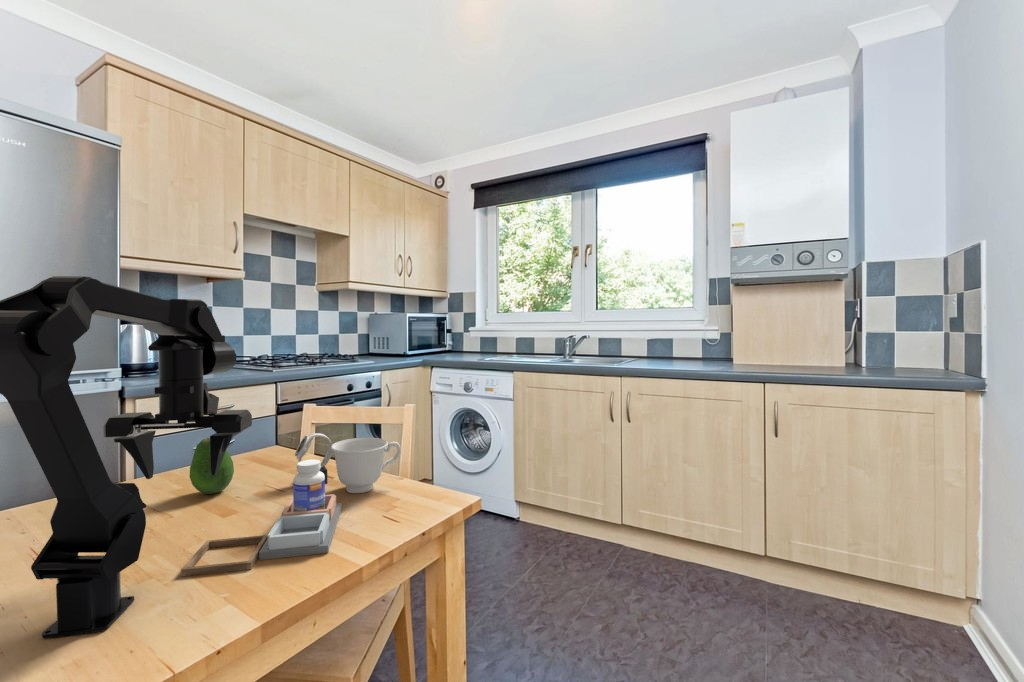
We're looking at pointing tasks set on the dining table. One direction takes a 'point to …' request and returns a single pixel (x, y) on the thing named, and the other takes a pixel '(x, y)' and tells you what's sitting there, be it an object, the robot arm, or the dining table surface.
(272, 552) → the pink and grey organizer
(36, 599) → the dining table surface
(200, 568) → the tray
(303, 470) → the pill bottle
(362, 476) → the teacup
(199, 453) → the fruit
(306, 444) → the watch
